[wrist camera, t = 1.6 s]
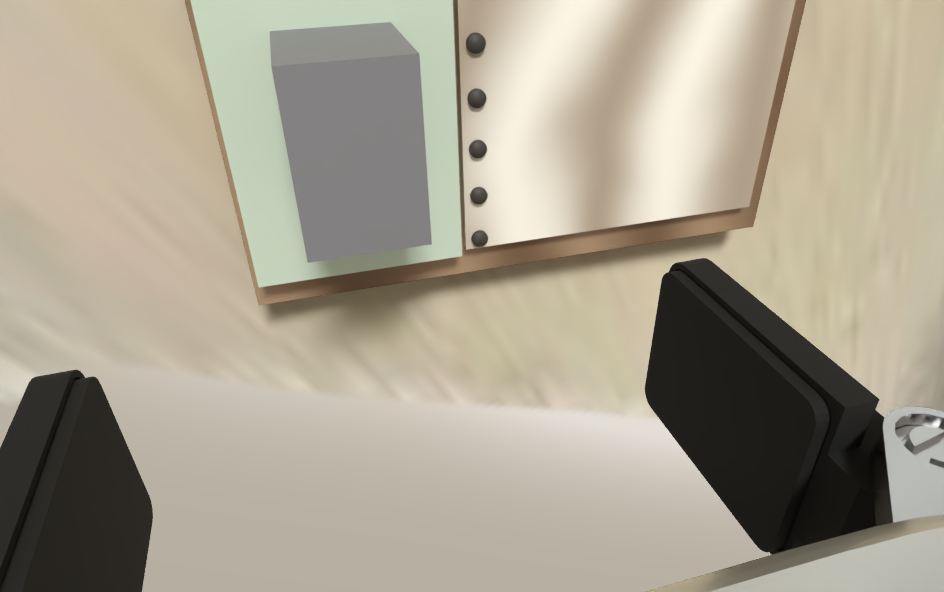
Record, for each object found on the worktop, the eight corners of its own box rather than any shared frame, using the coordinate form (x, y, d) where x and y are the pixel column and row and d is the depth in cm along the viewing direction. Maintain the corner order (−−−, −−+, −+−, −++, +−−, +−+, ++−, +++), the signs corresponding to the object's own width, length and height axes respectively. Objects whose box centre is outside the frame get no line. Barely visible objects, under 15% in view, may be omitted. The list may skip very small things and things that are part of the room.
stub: (443, -101, 21) (494, -97, 17) (457, 247, 28) (496, 320, 24) (171, -92, 20) (143, -83, 15) (258, 277, 27) (258, 362, 22)
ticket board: (806, -161, 26) (860, -165, 23) (729, 210, 34) (763, 233, 32) (157, -149, 21) (144, -153, 18) (258, 281, 29) (258, 315, 27)
